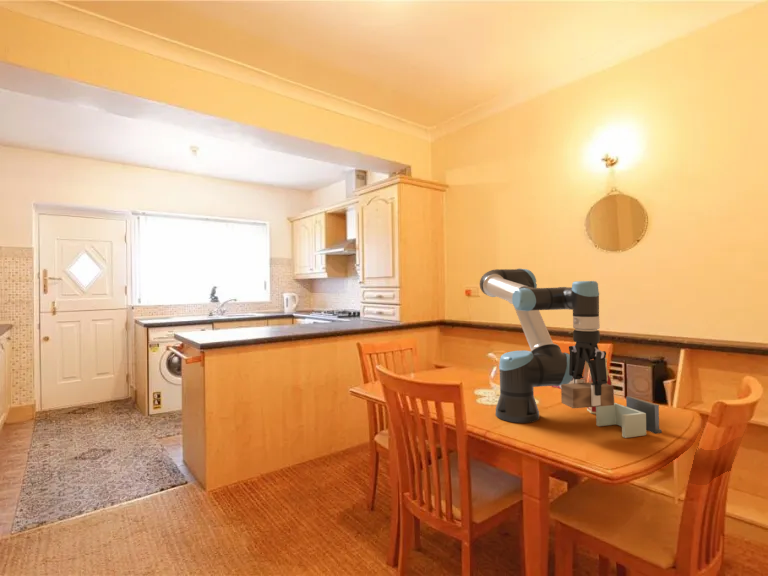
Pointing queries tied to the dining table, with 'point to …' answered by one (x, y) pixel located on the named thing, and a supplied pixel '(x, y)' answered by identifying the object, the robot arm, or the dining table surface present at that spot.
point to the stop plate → (647, 408)
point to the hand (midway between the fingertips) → (587, 402)
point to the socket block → (622, 419)
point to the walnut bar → (585, 395)
